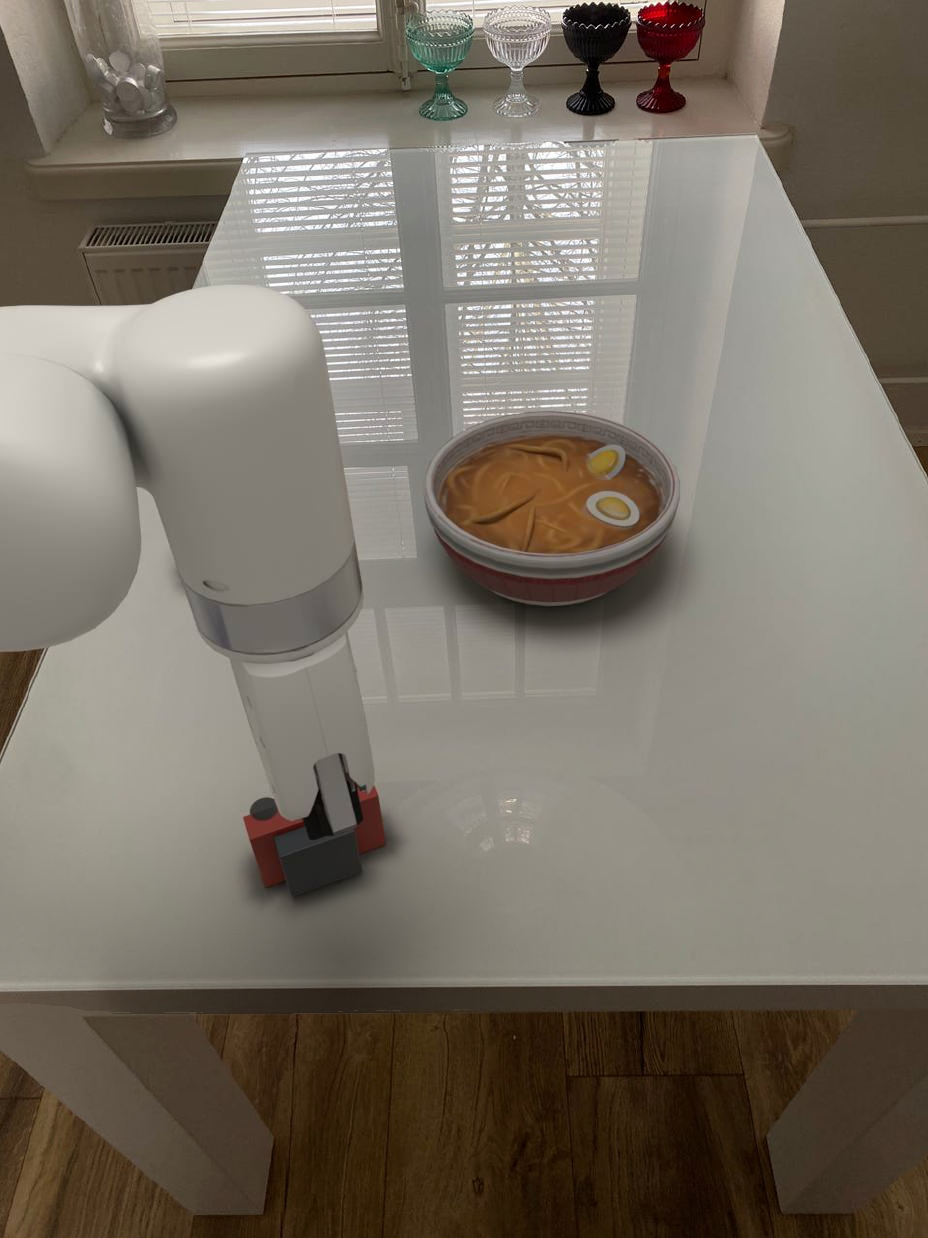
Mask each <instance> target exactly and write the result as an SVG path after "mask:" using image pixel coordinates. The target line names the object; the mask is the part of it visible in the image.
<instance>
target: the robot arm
mask: <svg viewBox="0 0 928 1238" xmlns="http://www.w3.org/2000/svg"><path fill="white" fill-rule="evenodd" d="M331 387H332V386H331V381H330V374H329V368H328V361H327V356H326V351H325V347H324V342H323V338H322V334H321V332H320V330H319V328H318V326H317V323H316V321H315V320H314V319H313V317H312V315H311V313H309V312H308V311H307V309H305V307H304V306H303V305H302V304H300V302H299V301H298V300H296V299H294V298H292V297H291V296H289V295H287V294H285V293H282V292H281V291H278V290H275V289H273V288H269V287H264V286H260V285H252V284H242V283H241V284H239V283H238V284H236V283H235V284H234V283H231V284H229V283H228V284H215V285H208V286H202V287H197V288H192V289H191V288H190V289H188V290H183V291H180V292H176V293H174V294H172V295H169V296H166V297H163V298H161V299H159V300H157V301H155V302H153V303H149V304H148V303H147V304H128V305H127V304H126V305H48V304H47V305H43V304H42V305H41V304H40V305H39V304H36V305H34V304H33V305H29V304H28V305H24V304H23V305H9V306H8V305H7V306H0V653H4V652H5V653H7V652H8V653H13V652H16V653H17V652H25V651H26V652H27V651H34V650H41V649H46V648H47V649H48V648H51V647H55V646H58V645H62V644H64V643H68V642H71V641H73V640H75V639H77V638H80V637H82V636H84V635H85V634H87V633H89V632H91V631H93V630H95V629H97V628H98V626H100V625H102V623H104V622H105V621H106V620H107V619H108V618H110V617H111V616H112V615H113V614H114V613H115V611H116V610H117V609H118V608H119V606H120V605H121V604H122V603H123V601H124V600H125V599H126V598H127V596H128V593H129V592H130V589H131V587H132V585H133V583H134V580H135V578H136V575H137V573H138V568H139V564H140V560H141V553H142V530H141V518H140V507H139V506H140V505H139V496H138V489H137V488H140V489H143V490H145V491H146V492H148V493H149V494H150V496H152V498H153V500H154V503H155V506H156V509H157V512H158V514H159V517H160V521H161V524H162V527H163V530H164V532H165V535H166V536H165V537H166V539H167V542H168V545H169V547H170V552H171V554H172V557H173V560H174V562H175V566H176V569H177V572H178V574H179V577H180V580H181V583H182V586H183V589H184V592H185V596H186V598H187V601H188V605H189V607H190V611H191V613H192V616H193V620H194V623H195V626H196V629H197V631H198V634H199V636H200V638H201V639H202V640H203V641H204V642H205V644H206V645H208V646H209V647H210V648H211V649H212V650H213V651H214V652H216V653H218V654H220V655H222V656H224V657H226V658H228V660H229V662H230V666H231V670H232V673H233V676H234V677H233V678H234V680H235V683H236V687H237V689H238V692H239V696H240V700H241V702H242V705H243V708H244V712H245V715H246V718H247V721H248V724H249V727H250V731H251V734H252V738H253V740H254V743H255V746H256V750H257V752H258V755H259V758H260V761H261V764H262V767H263V770H264V773H265V777H266V779H267V783H268V786H269V788H270V791H271V794H272V798H273V799H274V800H275V803H276V806H277V808H278V811H279V813H280V815H281V816H282V817H284V818H286V819H287V820H290V821H295V820H297V819H301V818H302V820H303V823H304V824H305V828H306V831H307V834H308V837H309V839H310V840H317V839H319V838H322V837H325V836H333V835H337V834H339V833H342V832H344V831H346V830H349V829H351V828H354V827H357V825H358V824H360V823H361V822H362V821H363V814H362V810H361V805H360V800H359V795H358V790H357V785H358V788H359V790H360V792H363V791H365V792H366V794H369V792H370V791H371V789H372V788H373V785H374V786H375V782H376V773H375V764H374V757H373V752H372V747H371V739H370V735H369V729H368V724H367V723H368V722H367V719H366V713H365V709H364V703H363V698H362V692H361V689H360V684H359V679H358V674H357V672H358V671H357V670H358V669H357V667H356V665H355V660H354V655H353V652H352V647H351V642H350V637H349V634H348V631H349V630H350V629H351V628H352V627H353V625H354V624H355V622H356V621H357V619H359V616H360V613H361V610H362V609H363V605H364V598H365V597H364V586H363V581H362V574H361V569H360V563H359V557H358V550H357V543H356V538H355V532H354V525H353V519H352V511H351V506H350V505H351V504H350V499H349V493H348V486H347V481H346V473H345V468H344V461H343V456H342V455H343V454H342V449H341V442H340V437H339V431H338V425H337V417H336V412H335V405H334V399H333V392H332V388H331ZM356 783H357V785H356Z"/></svg>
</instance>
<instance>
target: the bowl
mask: <svg viewBox="0 0 928 1238" xmlns="http://www.w3.org/2000/svg"><path fill="white" fill-rule="evenodd" d="M422 483H423V487H422V488H423V492H422V493H423V500H424V503H425V504H424V505H425V509H426V510H425V511H426V513H427V516H428V520H429V522H430V525H431V527H432V528H433V531H434V534H435V535H436V538H437V540H438V542H439V543H440V545H441V546H442V548H443V549H444V551H445V552H446V554H447V555H448V557H450V559H451V560H452V561H453V562H454V563H455V564H456V566H457V567H458V568H459V570H461V571H462V573H464V574H466V576H468V577H469V578H470V579H471V580H472V581H474V582H476V583H477V584H479V585H481V586H482V587H484V588H485V589H487V590H489V591H491V592H492V593H494V594H496V595H497V596H500V597H503V598H505V599H508V600H511V601H513V602H517V603H523V604H526V605H530V606H531V605H533V606H542V607H543V606H544V607H556V606H557V607H558V606H569V605H574V604H575V605H576V604H580V603H585V602H588V601H590V600H593V599H596V598H599V597H601V596H603V595H605V594H607V593H608V592H609V593H610V592H611V591H613V590H615V589H617V588H618V587H620V586H622V585H624V584H626V583H627V582H628V581H629V580H630V579H632V578H633V577H635V575H637V574H638V573H639V571H641V570H642V569H643V568H644V567H645V566H646V565H647V564H648V563H649V562H650V561H651V560H652V559H653V557H654V556H655V555H656V554H657V552H658V550H659V549H660V548H661V546H662V544H663V543H664V541H665V539H666V538H667V535H668V533H669V531H670V530H671V528H672V526H673V522H674V520H675V517H676V514H677V512H678V511H677V510H678V507H679V505H680V504H679V503H680V499H681V479H680V476H679V473H678V470H677V468H676V466H675V464H674V463H673V462H672V459H671V458H670V456H669V455H668V454H667V453H666V451H665V450H663V449H662V448H661V447H660V446H659V444H657V443H655V441H653V440H652V439H651V438H649V437H647V436H646V435H644V434H643V433H641V432H639V430H637V429H634V428H632V427H629V426H628V425H625V424H623V423H620V422H617V421H615V420H612V419H608V418H605V417H601V416H597V415H593V414H586V413H582V412H575V411H559V410H542V411H541V410H539V411H525V412H520V413H512V414H511V413H510V414H505V415H501V416H498V417H495V418H492V419H487V420H485V421H482V422H479V423H477V424H475V425H473V426H470V427H467V428H466V429H464V430H463V431H461V432H459V433H457V434H455V435H454V436H453V437H451V438H450V439H448V441H446V442H445V443H444V444H443V445H442V446H441V447H440V448H438V450H437V451H436V452H435V454H434V455H433V456H432V458H431V459H430V460H429V462H428V464H427V467H426V470H425V473H424V475H423V481H422Z"/></svg>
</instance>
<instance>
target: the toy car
mask: <svg viewBox="0 0 928 1238" xmlns="http://www.w3.org/2000/svg"><path fill="white" fill-rule="evenodd" d="M356 785H357V783H356ZM357 790H358V795H359V800H360V805H361V810H362V814H363V821H362V822H361V823H360V824H358V825H357V827H354V828H351V829H349V830H346V831H344V832H342V833H339V834H337V835H333V836H325V837H322V838H319V839H317V840H310V839H309V837H308V834H307V831H306V828H305V824H304V823H303V820H302V818H301V819H297V820H295V821H290V820H287V819H286V818H284V817H282V816H281V815H280V813H279V811H278V808H277V806H276V803H275V800H274V797H268V796H265V797H261V798H259V799H257V800H255V801H254V802H253V803H252V804H251V806H250V808H249V814H247V815H244V816H242V819H243V822H244V826H245V829H246V833H247V836H248V839H249V844H250V847H251V849H252V852H253V855H254V859H255V862H256V865H257V867H258V870H259V874H260V877H261V879H262V883H263V886H264V888H268V887H271V886H274V885H277V884H280V883H282V882H286V886H287V889H288V892H289V896H290V897H291V898H293V897H296V896H300V895H302V894H304V893H307V892H310V891H312V890H316V889H318V888H321V887H325V886H327V885H329V884H332V883H335V882H337V881H340V880H343V879H345V878H349V877H352V876H354V875H357V874H359V873H362V872H363V866H362V860H361V856H360V855H361V854H363V853H366V852H369V851H371V850H374V849H377V848H380V847H382V846H385V845H386V844H387V842H386V835H385V829H384V823H383V822H384V821H383V816H382V815H383V814H382V809H381V803H380V802H381V801H380V797H379V794H378V790H377V788H376V786H375V784H374V785H373V788H372V789H371V791H370V792H369V794H366V792H365V791H363V792H360V790H359V788H358V785H357Z"/></svg>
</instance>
